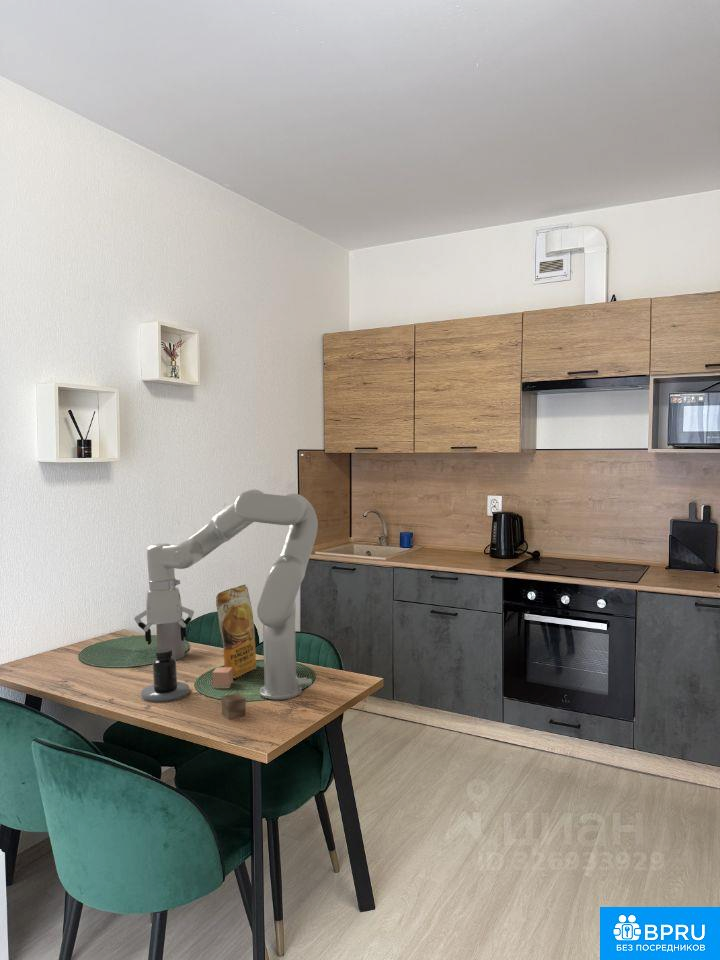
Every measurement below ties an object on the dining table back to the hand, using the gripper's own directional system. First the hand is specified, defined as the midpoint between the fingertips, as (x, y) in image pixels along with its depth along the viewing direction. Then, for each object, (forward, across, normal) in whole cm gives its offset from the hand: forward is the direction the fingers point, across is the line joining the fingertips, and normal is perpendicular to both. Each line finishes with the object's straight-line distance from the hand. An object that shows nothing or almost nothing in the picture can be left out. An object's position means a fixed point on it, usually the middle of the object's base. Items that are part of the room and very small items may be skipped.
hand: (166, 641), depth 205 cm
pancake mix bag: (+17, -21, -14) cm, 30 cm away
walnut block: (+17, -19, +22) cm, 33 cm away
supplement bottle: (+15, +1, 0) cm, 15 cm away
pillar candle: (+16, +2, -38) cm, 41 cm away
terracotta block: (+17, -16, -3) cm, 23 cm away
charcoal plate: (+16, +1, 0) cm, 16 cm away
